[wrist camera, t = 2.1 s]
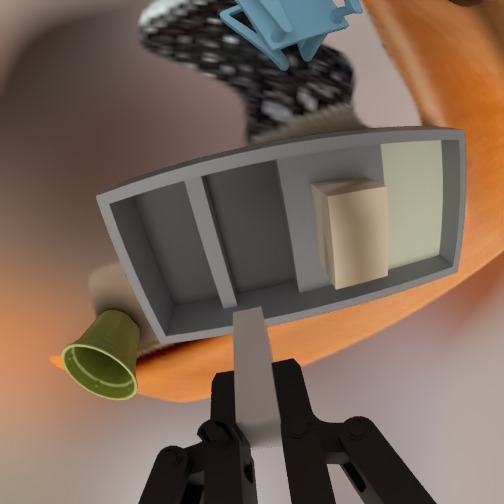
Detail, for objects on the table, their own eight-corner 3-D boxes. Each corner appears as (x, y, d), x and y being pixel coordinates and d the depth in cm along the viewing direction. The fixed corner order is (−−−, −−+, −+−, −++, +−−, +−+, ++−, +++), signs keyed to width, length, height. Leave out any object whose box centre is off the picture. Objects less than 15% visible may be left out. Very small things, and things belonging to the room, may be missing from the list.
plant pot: (84, 290, 29) (53, 334, 22) (153, 307, 31) (134, 359, 23) (92, 342, 33) (70, 386, 25) (152, 358, 35) (139, 407, 27)
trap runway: (432, 125, 23) (464, 129, 18) (432, 251, 30) (457, 271, 25) (120, 182, 24) (95, 196, 19) (169, 312, 31) (161, 344, 26)
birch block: (360, 174, 23) (387, 186, 19) (365, 251, 27) (387, 275, 22) (309, 183, 23) (327, 196, 19) (319, 262, 27) (335, 289, 22)
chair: (260, 81, 21) (283, 45, 11) (218, 16, 18) (209, -51, 7) (331, 54, 20) (395, 16, 10) (289, -10, 17) (323, -74, 6)
